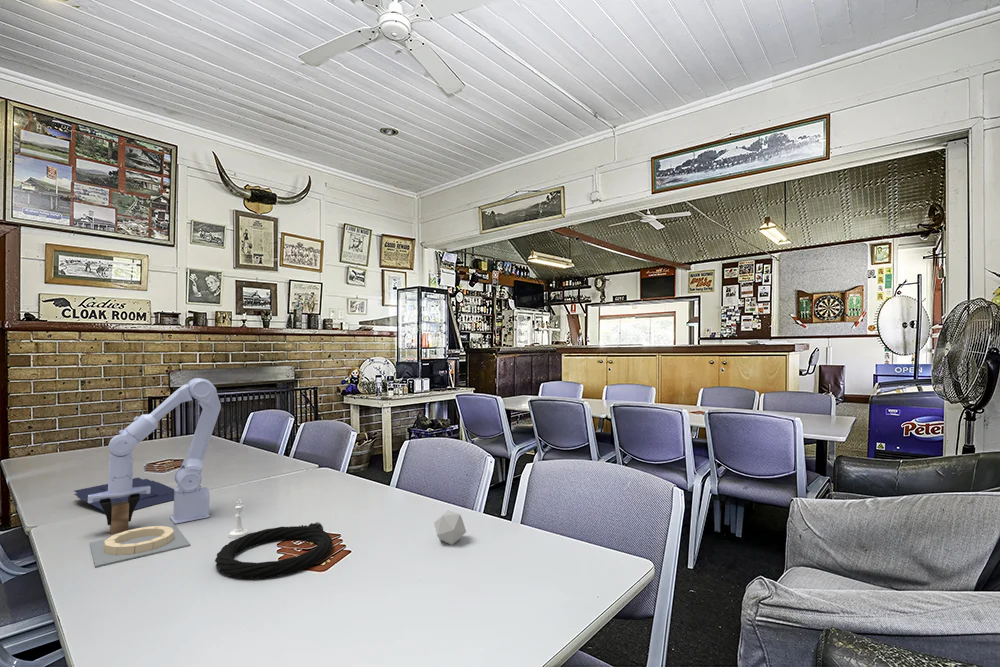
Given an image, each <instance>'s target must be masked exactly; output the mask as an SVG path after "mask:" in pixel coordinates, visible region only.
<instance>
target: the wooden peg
mask: <svg viewBox="0 0 1000 667" xmlns="http://www.w3.org/2000/svg"><path fill="white" fill-rule="evenodd" d="M129 522H130V521H129V502H128V501H121V502H115V503H111V525H109V533H110V535H115V534H118V533H121V532H124V531H128V530H129Z"/></svg>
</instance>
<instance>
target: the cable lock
mask: <svg viewBox="0 0 1000 667" xmlns="http://www.w3.org/2000/svg"><path fill="white" fill-rule="evenodd" d="M286 540H287V541H289V540H299V541H300V540H301V541H309V542H312V543H315V544H317V546H316V547H315V548H314V549H311V550H308V551H306V552H303V553H301V554H298V555H296V556H292V557H288V558H284V559H280V560H273V561H272V560H270V561H262V562H252V561H251V562H249V561H241V560H237V559H234V556H236V555H237V554H240V552H243V551H245V550H247V549H249V548H252V547H255V546H257V545H258V546H259V545H261V544H266V543H271V542H272V543H273V542H276V541H286ZM332 548H333V539H332V537H331V536H330V534H328V533H327V532H326V531H325V530H324V525H322V523H321V522H318V521H317V522H314V523H310V524H308V525H303V524H302V525H299V526H297V525H296V526H295V525H294V526H278V527H273V528H266V529H261V530H259V531H255V532H250V533H249V532H248V534H247V535H245V536H243V537H239V538H234V540H230V541H229V542H228V543H227V544H225V545H224V546H223V547H221V549H220V550H219V552H218V553H216V557H215V560H214V562H215V563H216V564H215V567H216V568H217V569H218V571H219V572H220V573H222V574H224V575H227V576H228V577H230V578H237V579H238V578H240V579H244V580H254V579H270V578H276V577H280V576H284V575H285V576H286V575H289V574H295V573H297V572H299V571H301V570H304V569H307V568H310V567H312V566H315V565H316V564H318V563H319V562H321V561H322V560H323V559H324V558H326V557H327V556H328V554H330V552H331V550H332Z"/></svg>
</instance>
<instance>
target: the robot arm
mask: <svg viewBox="0 0 1000 667" xmlns="http://www.w3.org/2000/svg"><path fill="white" fill-rule="evenodd" d="M193 399H195V400H196V401H197V403H198V404H199V405H200V407H201V408H202V410H201V413H200V416H199V419H198V421H197V425H196V428H195V430H194V434H193V436H192V439H191V442H190V446H189V447H188V450H187V453H186V456H185V458H184V460H183V461H182V464H181V465H180V468H179V469H177V471H176V472H175V473H174V481H175V483H176V484H177V485H176V487H175V488H174V489H175V490H174V500H173V515H170V516H169V518H170V520H171V521H172V523H173V524H174V525H176V524H177V525H178V524H181V523H187V522H190V521H191V522H192V521H196V520H203V519H206V518H210V489H209V487H207V486H204V487H202V486H201V484H202V471H203V463H204V459H205V456H206V453H207V450H208V448H209V445H210V442H211V438H212V435H213V432H214V428H215V427H216V423H217V420H218V417H219V414H220V411H221V409H222V405H221V401H220V398H219V396H218V391H217V388H216V387H215V385H214V384H213V383H212V382H211V381H210V380H209V379H206V378H201V377H195V378H192V379H191V380H189V381H188V382H187V383H185V384H183V385H181V387H179V388H177V389H176V390H175V391H174V392H173V393H172V394H171V395H169V396H168V397H167V398H166V399H165V400H164V401H163V402H161V403H160V404H159V405H158V406H157V407H156V408H155V409H154V410H152V411H151V412H150V413H147V414H146V413H145V414H141V415H140V416H138V415H136V416H135V417H134V418H133V421H132V422H131V423H130V424H129V425H128V426H126V427H125V428H124V429H120V430H119V431H118V433H119V434H117V435H115V436H113V437H112V438H111V439H110V440H109V443H108V449H109V451H110V453H109V455H108V456H109V458H108V459H109V461H108V473H107V474H108V475H107V476H108V477H107V478H108V480H107V484H108V491H106V492H101V493H97V494H92V495H88V502H87V503H88V504H89V503H93V502H96V501H99V502H100V505H101V506H102V508H103V510H104V511H103V512H104V514H105V517H106V523H107V524H106V525H107V526H110V525H111V500H110V499H115V498H121V497H127V496H128V502H129V522H131V521H132V517H133V514H134V511H135V510H136V509H135V507H136V505H137V503H138V501H139V499H140V494H149V493H150V489H151V487H150V486H144V487H133V488H132V480H133V478H134V477H133V474H134V471H133V470H134V467H133V466H134V458H133V451H135V447H136V445H137V444H140V443H141V442H142V441H143V440H144V439H146V438H147V437H148V436H149V435H150V434H152V433H153V432H154V431H155V430H156V429H157V428H158V427H159V421H160V420H161V419H163V418H164V417H165V416H166V415H168V414H169V413H170V412H171V411H172V410H174V409H175V408H176V407H177V406H180V404H182V403H185V402H189V401H190V402H191V401H193ZM134 509H135V510H134Z"/></svg>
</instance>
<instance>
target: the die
mask: <svg viewBox="0 0 1000 667" xmlns="http://www.w3.org/2000/svg"><path fill="white" fill-rule="evenodd" d="M434 528H435V533H436V536H437V538H438V540H439V541H441V542H443V543H446V544H447V545H451V546H453V545H454V544H455V543H457V541H458V540H460V539H461V537H463V536H464V535H465V534H466V533H467V530H466V526H465V522H464V521H463V518H462V515H461V514H460V513H458V512H455V511H451V510H447V511H445V512H444V513H443V514H442V515H441V516H440V517H439V518H438V519H436V521H434Z"/></svg>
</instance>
